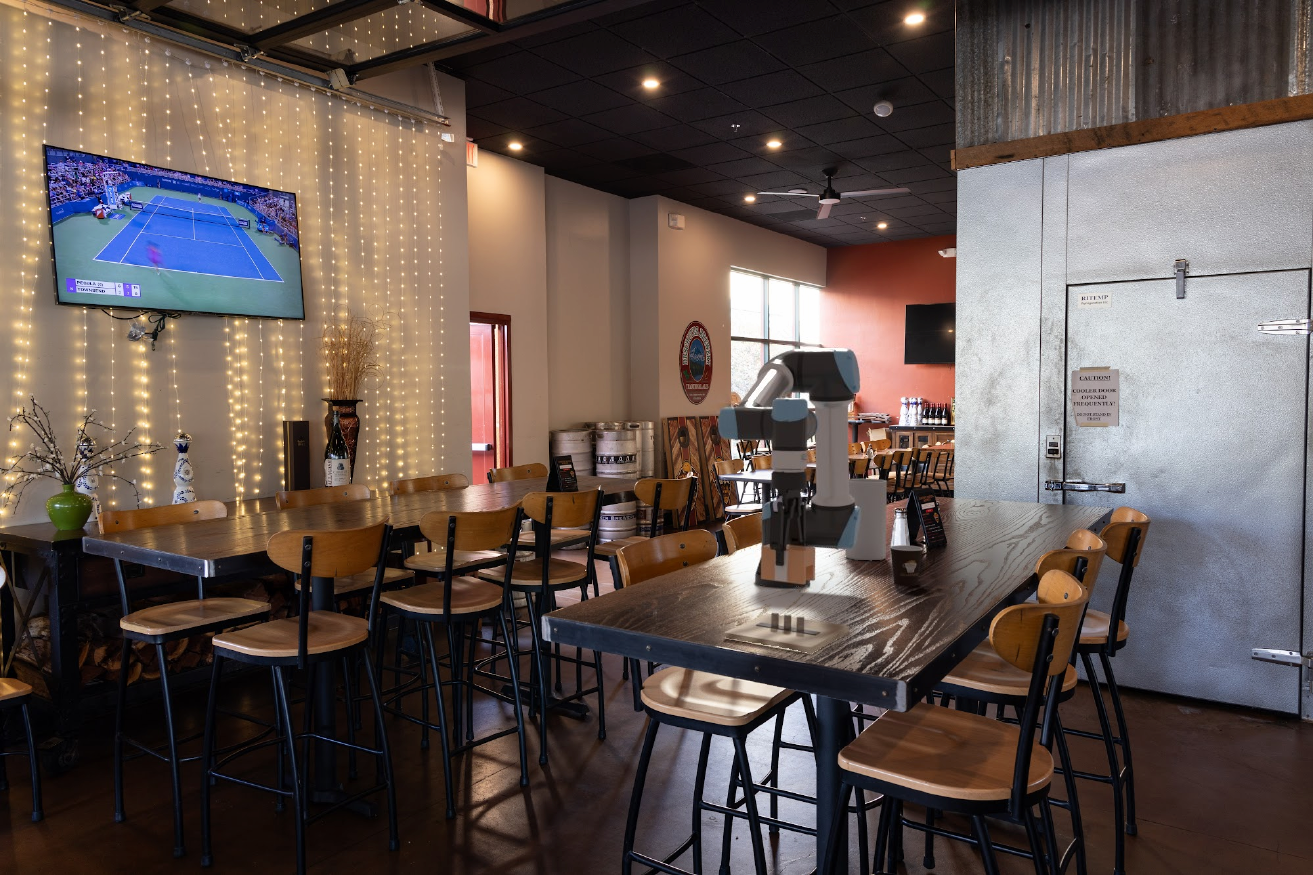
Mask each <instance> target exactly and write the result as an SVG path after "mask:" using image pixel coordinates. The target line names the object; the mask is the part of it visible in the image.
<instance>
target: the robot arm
mask: <svg viewBox="0 0 1313 875" xmlns="http://www.w3.org/2000/svg"><path fill="white" fill-rule="evenodd" d="M859 367H860V366H859V363H858V359H857V356H856V354H855V352H854V351H853V350H852V349H849V348H840V347H839V348H838V347H832V348H831V347H829V348H827V347H826V348H796V349H794V348H793V349H790V350H787V351H785V352H784V351H783V352H782V353H779V354H777V355H776V356H773V357H772V358H771V359H769V360H767V361H766V363H764V364H763V365H762V367H761V368H760V370H758V372H757V376H756V381H755V382H754V384H752V386H751V388H750V389H749V390H748V391H747V393H746V394H745V395H744V397H743V399H742V400H741V401H740V402H739V404H738V405H737V406H733V405H732V406H724V407H722V408H721V409H720V411H719V414H718V417H717V426H718V433H719V436H720V437H721V438H722V439H724V440H732V441H733V440H734V441H771V463H770V465H771V466H770V467H771V470H772V472H771V478H770V481H771V482H770V485H771V488H772V489H773V490H776V491H777V493H776V494H777V495H776V500H771V501H768V502H765V503H764V505H762V509H761V510H762V514H761V519H760V521H761V546H765V545H768V544H770V549H771V550H775V580H777V581H774V580H766V579H761V557H760V559H759V562H758V565H757V568H756V570H755V574H754V583H755V584H757V585H760V586H762V587H767V588H776V589H778V588H779V589H796V588H797V589H798V588H803V587H804V588H805V587H808V586H809V585H810V584H811V581H810V580H806V584H797V583H789V582H787V581H788V550H786V546H787V545H796V546H805V547H815V548H818V549H820V548H822V549H834V550H837V551H838V550H846V549H851V548H853V547H854V545H855V543H856V541H857V537H858V532H859V527H860V520H861V508H860V507H858V506H855V499H854V498H853V497H852V496H851V495H850V494H849V478H850V471H849V468H850V466H849V465H850V464H849V463H850V462H849V461H850V460H849V458H850V457H849V405H850V404H851V403H852V402H853V401H854V400H855V398H854V397H855V394H858V393H859V392H860V391H861V376H860V368H859ZM791 393H793V394H795V393H796V394H798V393H799V394H800V393H802V394H808V400H807V399H805V398H795V397H794V398H787V397H785V396H787V395H788V394H791ZM784 397H785V398H784ZM808 401H809V402H810V403H811V404H812V405H813V406H814V411H813V410H812V409H810V408H809V406H808ZM814 436H815V474H816V475H815V477H816V478H815V481H816V483H815V484H816V485H815V486H816V493H815V494H814V496H812V498H810V504H808V503H807V502H808V498H807V496H802V493H801V491H803V490H806V488H807V487H808V483H807V482H808V473H807V472H806V471H805V470H806V469H807V468H808V460H809V455H808V441H809V440H810V439H812V438H813V437H814ZM781 581H785V582H781Z"/></svg>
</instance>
